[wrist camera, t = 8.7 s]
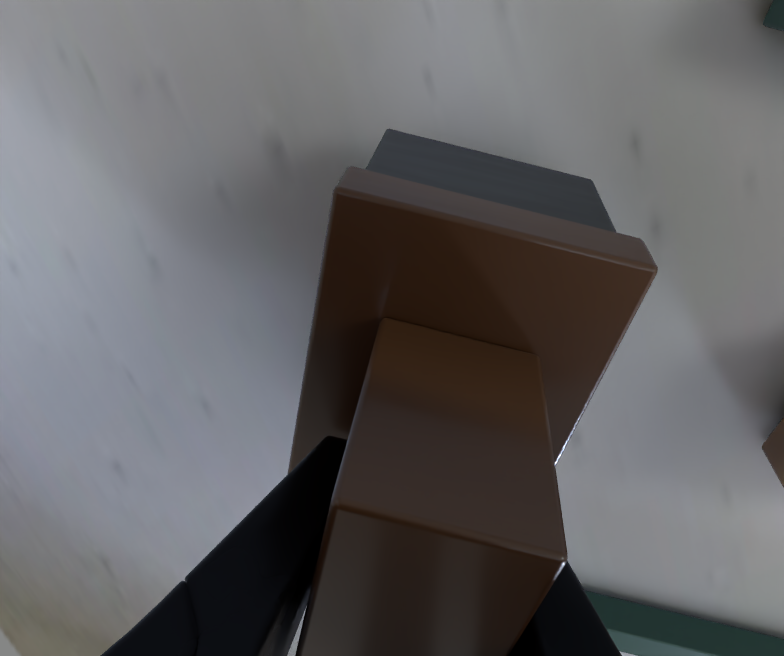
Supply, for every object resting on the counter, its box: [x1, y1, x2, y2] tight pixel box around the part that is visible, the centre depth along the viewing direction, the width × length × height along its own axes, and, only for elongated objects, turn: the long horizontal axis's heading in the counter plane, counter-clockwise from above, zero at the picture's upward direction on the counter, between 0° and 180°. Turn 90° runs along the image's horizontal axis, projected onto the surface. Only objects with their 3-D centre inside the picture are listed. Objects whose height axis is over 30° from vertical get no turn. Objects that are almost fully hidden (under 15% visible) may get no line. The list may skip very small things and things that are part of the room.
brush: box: [288, 129, 658, 656], centre depth 10 cm, size 8×4×8 cm, turn 168°
